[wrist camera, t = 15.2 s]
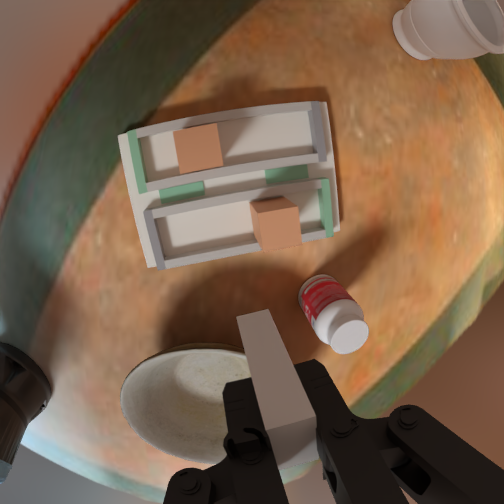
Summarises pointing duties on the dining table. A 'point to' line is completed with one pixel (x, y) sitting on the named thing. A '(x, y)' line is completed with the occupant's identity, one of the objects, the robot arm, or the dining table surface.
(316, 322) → the pill bottle
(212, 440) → the bowl
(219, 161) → the tab
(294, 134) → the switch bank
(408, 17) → the jar
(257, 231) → the tab
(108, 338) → the dining table surface
